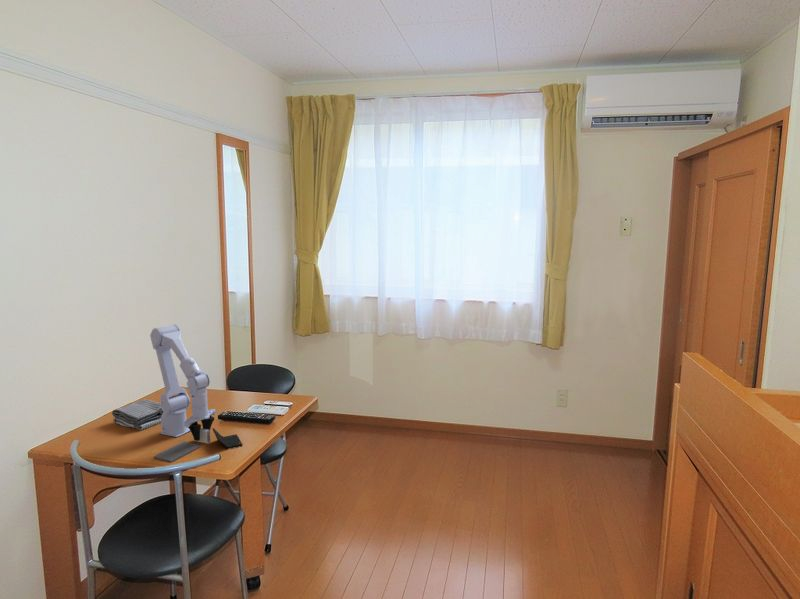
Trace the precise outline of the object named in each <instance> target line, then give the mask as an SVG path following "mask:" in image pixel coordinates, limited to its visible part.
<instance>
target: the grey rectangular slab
mask: <svg viewBox="0 0 800 599" xmlns="http://www.w3.org/2000/svg"><path fill="white" fill-rule="evenodd" d="M201 447H202V445H200V444H196V443H191V442H187V441H182V442H179V443H177V444H176V445H174V446H172V447H169V448H168V449H165V450H164V451H162V452H159V453H158V454H156V455H154V456H153V457H154V458H153V457H152V458H153V459H156V458H158V459H157V460H160V461H164V460H165V461H164V462H168V461H169V463H174V462H175V461H177V460H178V459H181V458H183V457H184V456H186V455H188V454H190V453H192V452H194V451H196V450H198V449H199V448H201Z"/></svg>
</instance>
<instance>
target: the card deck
mask: <svg viewBox="0 0 800 599" xmlns="http://www.w3.org/2000/svg"><path fill="white" fill-rule="evenodd" d="M193 441H195V442H198V443H203V444H209V443H211V429H210V430H207V429H203V427H201V428H200V440H199V441H196V440H194V439H193Z"/></svg>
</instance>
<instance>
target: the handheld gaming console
mask: <svg viewBox="0 0 800 599" xmlns="http://www.w3.org/2000/svg"><path fill="white" fill-rule="evenodd" d="M212 432H213V433H214V436H215V437H216V440H218V441H219V442H220V443H221V444H222V445H223V446H224V447H225V449H226V450H229V449H228V448H231V449H234V448H233V447H236V448H240V447H243V442H242V441H241V439H240V437H239V436H238V434H231V435H230V434H229V435H225V436H223V435H221V434H220V433H219V432H218V431H217V430H216V429H215V428H214V427H213V428H212ZM239 446H240V447H239Z"/></svg>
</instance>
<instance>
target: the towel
mask: <svg viewBox="0 0 800 599" xmlns="http://www.w3.org/2000/svg"><path fill="white" fill-rule="evenodd" d="M112 410H113V411H112V413H111V415H112V416H113V417H114V418H113V423H114V424H116V425H118V424H120V426H122V427H127V428H130V427H132V429H134V428H136V429H135V430H138V429H139V431H144V430H145V428H146V429H149V428H151V427H153V426H152V425H154V424H156V425H158V424H161V423H160V422H161V416H162V414H163V411H162V409H161V402H157V401H154V400H150V399H147V398H146V399H145V398H144V399H141V400H138V401H136V402H133V403H129V404H128V405H127V404H126V405H125V406H122V407H118V408H115V409H112ZM157 423H158V424H157ZM150 426H151V427H150ZM154 426H155V425H154ZM143 429H144V430H143Z"/></svg>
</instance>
